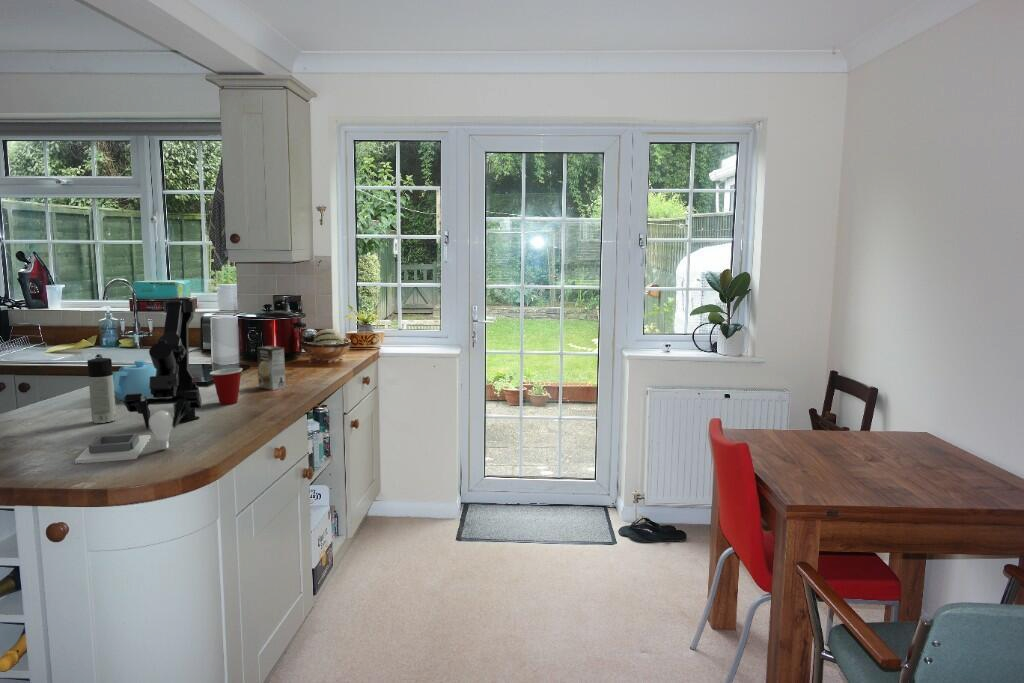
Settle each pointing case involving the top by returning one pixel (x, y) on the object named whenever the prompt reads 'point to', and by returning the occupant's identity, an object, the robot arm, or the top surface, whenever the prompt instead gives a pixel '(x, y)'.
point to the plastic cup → (227, 384)
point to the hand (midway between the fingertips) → (160, 427)
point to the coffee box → (271, 367)
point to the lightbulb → (161, 427)
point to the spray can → (101, 390)
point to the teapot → (133, 379)
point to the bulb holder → (113, 448)
